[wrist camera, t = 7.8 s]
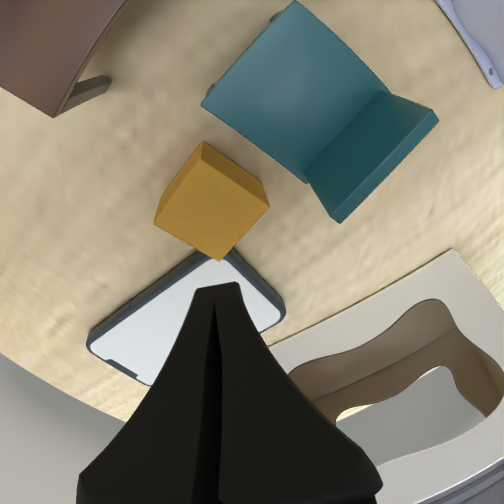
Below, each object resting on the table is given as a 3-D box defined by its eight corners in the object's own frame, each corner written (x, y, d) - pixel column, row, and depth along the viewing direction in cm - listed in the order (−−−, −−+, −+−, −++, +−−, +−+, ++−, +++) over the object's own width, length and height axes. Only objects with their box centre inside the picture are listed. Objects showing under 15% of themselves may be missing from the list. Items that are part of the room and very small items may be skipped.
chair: (354, 81, 16) (445, 115, 9) (287, 154, 18) (334, 230, 11) (275, 11, 13) (327, -19, 6) (203, 92, 16) (193, 127, 9)
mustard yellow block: (262, 182, 19) (270, 206, 17) (218, 232, 21) (219, 262, 18) (202, 140, 17) (200, 158, 15) (160, 197, 19) (152, 224, 16)
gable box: (297, 404, 36) (338, 612, 14) (237, 358, 29) (275, 653, 6) (461, 321, 31) (555, 522, 8) (454, 244, 24) (609, 525, 1)
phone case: (218, 230, 21) (83, 333, 25) (219, 244, 20) (79, 346, 24) (289, 303, 26) (154, 377, 30) (293, 317, 24) (153, 391, 29)
